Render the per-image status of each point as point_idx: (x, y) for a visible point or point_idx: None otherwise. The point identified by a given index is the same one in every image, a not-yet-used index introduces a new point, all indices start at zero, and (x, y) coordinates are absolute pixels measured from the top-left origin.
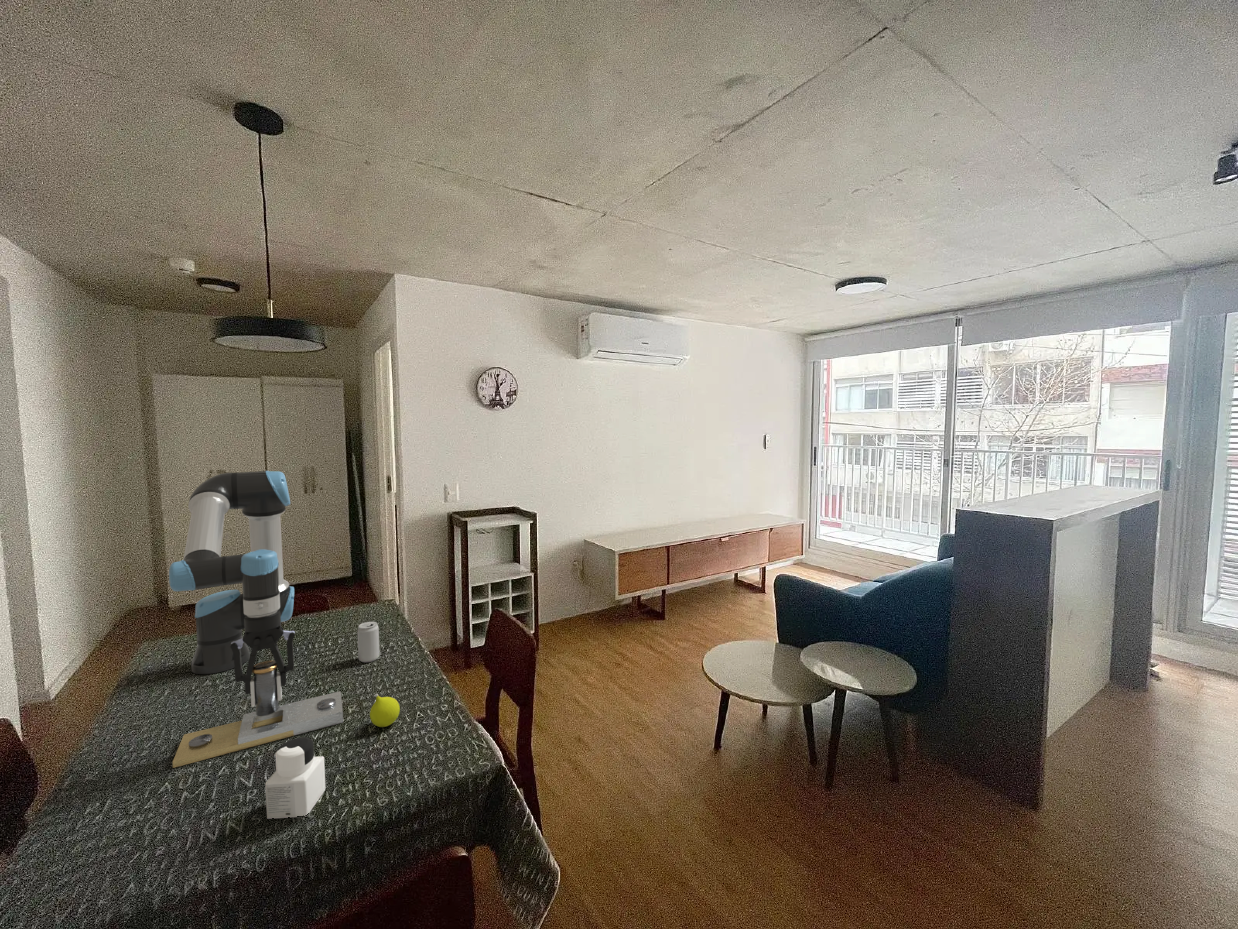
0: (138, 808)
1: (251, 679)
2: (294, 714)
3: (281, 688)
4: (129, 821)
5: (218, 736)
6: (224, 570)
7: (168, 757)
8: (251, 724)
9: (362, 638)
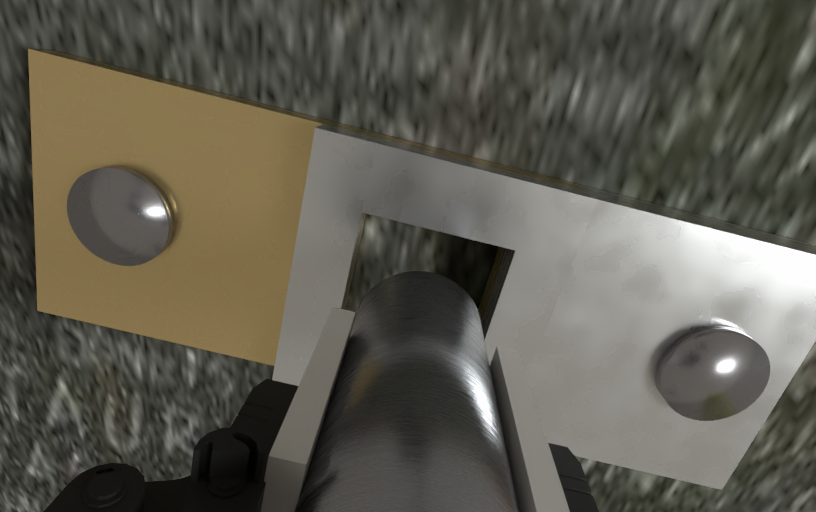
0: (11, 463)
1: (266, 504)
2: (541, 353)
3: (528, 395)
4: (5, 506)
5: (201, 221)
6: None
7: (20, 183)
8: (339, 296)
9: None
